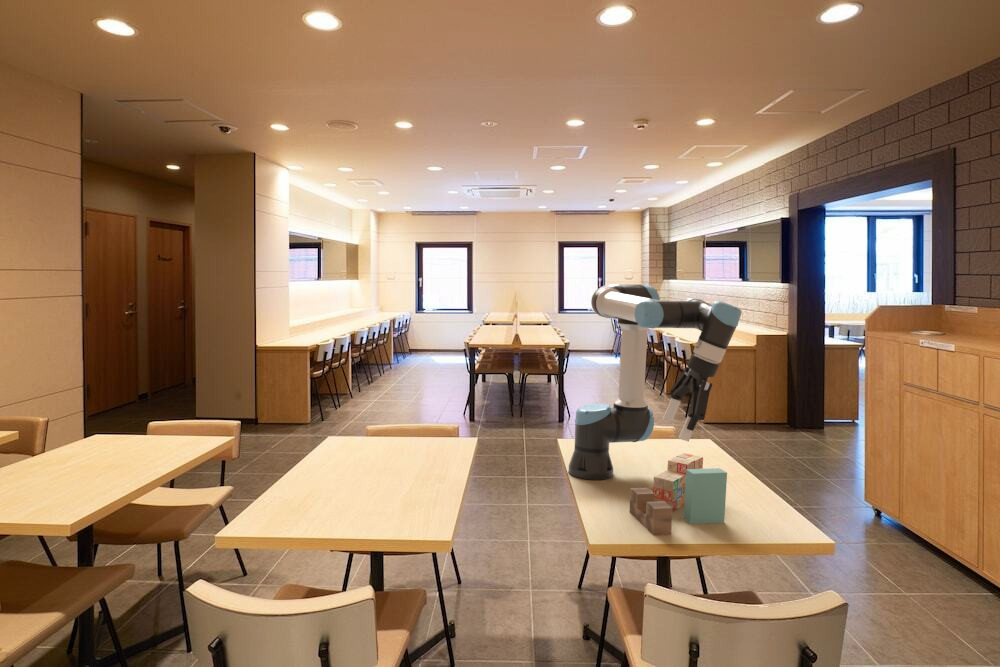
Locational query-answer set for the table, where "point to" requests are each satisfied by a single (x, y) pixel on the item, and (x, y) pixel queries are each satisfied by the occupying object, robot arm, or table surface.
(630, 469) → the table surface
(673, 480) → the stack of blocks
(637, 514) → the staggered wooden block
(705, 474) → the rectangular block
